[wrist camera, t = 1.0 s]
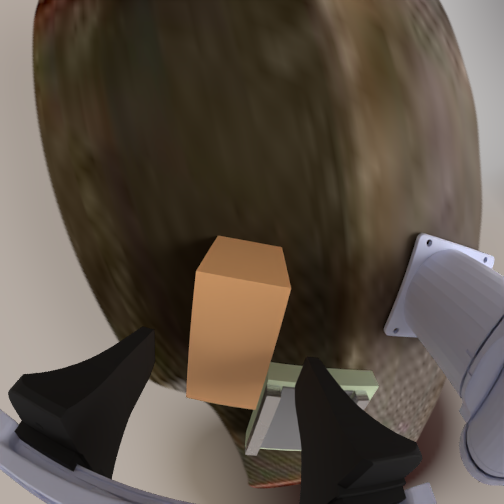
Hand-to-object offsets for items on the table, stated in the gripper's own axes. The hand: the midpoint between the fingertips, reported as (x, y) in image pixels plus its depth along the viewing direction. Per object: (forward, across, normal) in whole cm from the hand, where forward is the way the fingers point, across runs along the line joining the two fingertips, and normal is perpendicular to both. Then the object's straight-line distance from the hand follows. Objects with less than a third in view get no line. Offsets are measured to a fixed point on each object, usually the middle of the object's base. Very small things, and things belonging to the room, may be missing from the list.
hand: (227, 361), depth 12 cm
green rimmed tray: (+6, -8, +10) cm, 14 cm away
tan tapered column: (+7, 0, 0) cm, 7 cm away
